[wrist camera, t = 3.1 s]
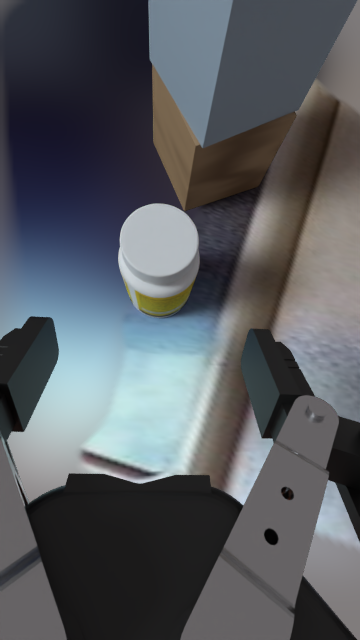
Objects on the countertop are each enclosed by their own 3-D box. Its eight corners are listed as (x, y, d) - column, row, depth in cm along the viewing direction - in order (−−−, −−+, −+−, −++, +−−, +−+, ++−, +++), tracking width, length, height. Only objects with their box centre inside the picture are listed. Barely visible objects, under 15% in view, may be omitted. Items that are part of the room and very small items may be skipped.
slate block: (244, 27, 19) (293, -166, 12) (298, 109, 18) (383, -49, 11) (149, 59, 18) (145, -134, 11) (202, 148, 17) (233, -3, 10)
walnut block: (225, 121, 26) (250, 30, 19) (258, 186, 25) (296, 115, 18) (153, 142, 25) (152, 54, 18) (184, 211, 24) (195, 145, 17)
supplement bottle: (201, 291, 23) (226, 244, 15) (156, 331, 22) (157, 304, 14) (160, 248, 23) (162, 179, 15) (115, 286, 22) (91, 233, 14)
